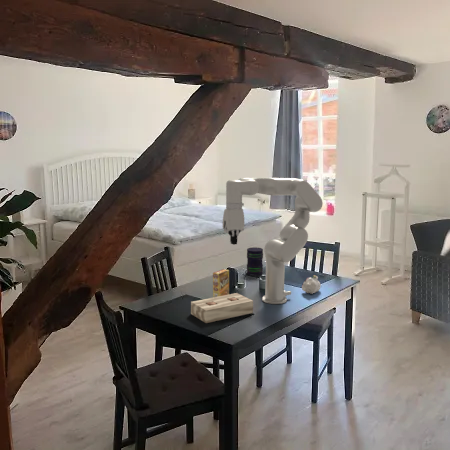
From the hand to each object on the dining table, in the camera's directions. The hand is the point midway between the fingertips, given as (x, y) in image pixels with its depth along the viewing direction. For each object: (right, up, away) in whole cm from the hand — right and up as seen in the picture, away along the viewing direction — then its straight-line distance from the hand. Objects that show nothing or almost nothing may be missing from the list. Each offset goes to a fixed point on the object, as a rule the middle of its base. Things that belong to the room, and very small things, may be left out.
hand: (233, 243), depth 248 cm
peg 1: (-11, -34, -6) cm, 36 cm away
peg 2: (0, -32, +1) cm, 32 cm away
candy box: (-6, -30, +17) cm, 35 cm away
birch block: (-6, -33, -2) cm, 34 cm away
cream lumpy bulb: (+42, -28, +30) cm, 59 cm away
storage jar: (+14, -21, +68) cm, 73 cm away
